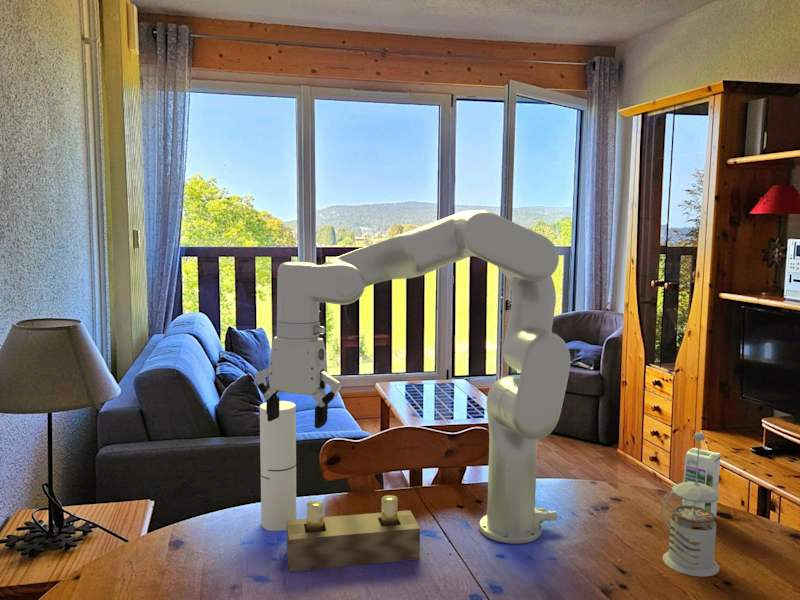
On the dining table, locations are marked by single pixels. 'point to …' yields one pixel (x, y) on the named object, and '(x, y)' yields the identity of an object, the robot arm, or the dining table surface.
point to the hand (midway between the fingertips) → (296, 422)
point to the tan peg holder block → (352, 541)
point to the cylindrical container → (278, 467)
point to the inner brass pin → (389, 510)
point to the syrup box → (702, 473)
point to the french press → (694, 554)
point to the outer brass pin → (314, 516)
